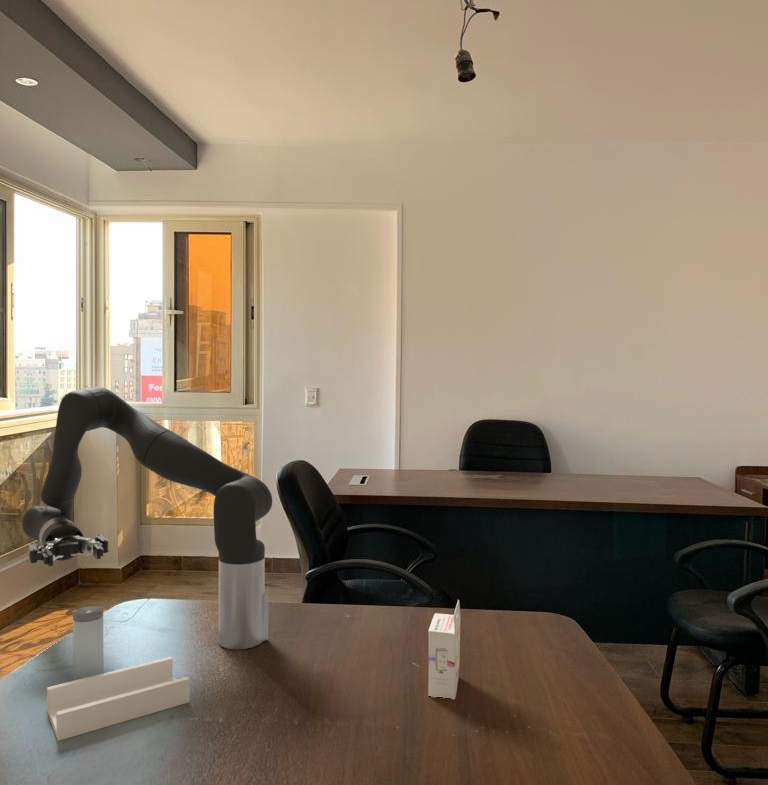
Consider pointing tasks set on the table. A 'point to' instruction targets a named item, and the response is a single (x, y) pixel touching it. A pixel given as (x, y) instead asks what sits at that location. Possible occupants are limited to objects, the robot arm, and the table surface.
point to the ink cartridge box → (444, 654)
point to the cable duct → (114, 697)
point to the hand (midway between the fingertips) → (75, 557)
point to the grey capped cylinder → (87, 642)
